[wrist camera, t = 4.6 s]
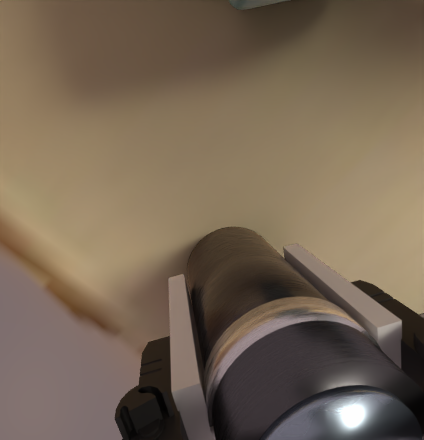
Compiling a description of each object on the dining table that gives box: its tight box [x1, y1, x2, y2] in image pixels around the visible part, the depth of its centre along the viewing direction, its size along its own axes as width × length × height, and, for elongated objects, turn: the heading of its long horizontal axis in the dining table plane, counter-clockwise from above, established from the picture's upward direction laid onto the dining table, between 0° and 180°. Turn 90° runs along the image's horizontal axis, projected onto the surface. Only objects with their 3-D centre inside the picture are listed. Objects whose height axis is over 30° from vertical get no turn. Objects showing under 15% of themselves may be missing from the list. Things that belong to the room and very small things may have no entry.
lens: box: [187, 227, 424, 440], centre depth 11 cm, size 5×5×10 cm
